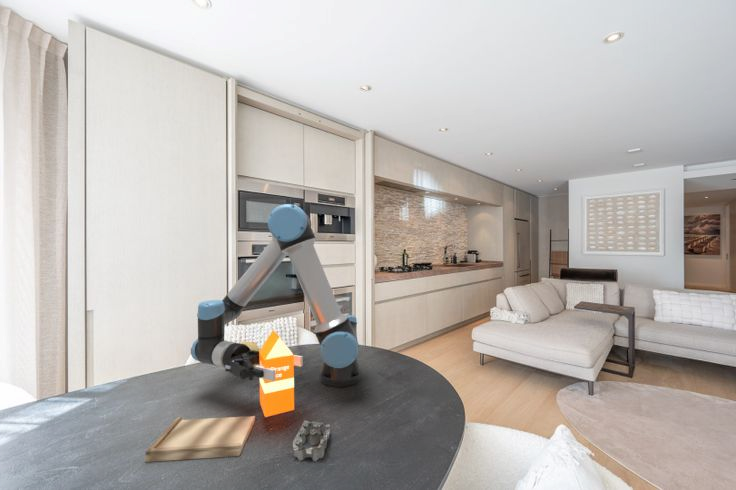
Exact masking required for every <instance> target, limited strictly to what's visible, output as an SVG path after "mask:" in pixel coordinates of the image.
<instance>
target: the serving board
mask: <svg viewBox="0 0 736 490" xmlns="http://www.w3.org/2000/svg"><path fill="white" fill-rule="evenodd" d="M255 422H256V415H250V416H249V415H248V416H246V415H245V416H233V417H231V416H229V417H215V418H214V417H213V418H212V417H211V418H210V417H209V418H196V419H195V418H194V419H193V418H192V419H183V417H182V416H178V417H176V418H175V419H174V420H173V422H172V423H171V424H170V425H169V426H168V427H167V428H166V429H165V430H164V431H163V433H161V435H159V437H158V438H157V439H156V440H155V441H154V442H153V443H152V444H151V445H150V447H148V448H147V450H146V451H145V463H149V462H150V463H151V462H153V463H154V462H167V461H181V460H182V461H183V460H193V459H194V460H196V459H209V458H213V459H214V458H224V457H228V458H229V457H238V456H239V457H240V455H241V453H242V451H243V448H244V447H245V444H246V443H247V439H248V437H249V435H250V433H251V432H252V428H253V427H254V425H255Z"/></svg>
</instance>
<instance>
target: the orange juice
mask: <svg viewBox="0 0 736 490" xmlns="http://www.w3.org/2000/svg"><path fill="white" fill-rule="evenodd" d="M294 355H295V354H293V352H292V351H291V349H290V348H289V347H288V346H287V345H286V343H284V341H283V339H281V337H280V336H279V335H278V334H277V332H276V331H275V330H274V329H273V330H272V331H271V332H270V334H269V336H268V337H267V338H266V340H265V342H264V344H263V345H262V347H261V348H260V350H259V358H260V365H259V366H262V367H264V368H271V369H275V373H276V380H275V381H270V380H266V379H262V378H259V404H260V407H261V410H262V413H263V415H264V418H267V417H271V416H276V415H278V414H283V413H286V412H290V411H294V410H295V375H294V374H295V372H294V371H295V369H294V367H295V365H294Z"/></svg>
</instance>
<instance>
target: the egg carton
mask: <svg viewBox="0 0 736 490" xmlns="http://www.w3.org/2000/svg"><path fill="white" fill-rule="evenodd" d="M330 426H331V424H330V423H327V424H325V423H324V422H319V421H308V420H305V419H304V420H303V422H302V425H301V427H300V428H299V430H298V432H297V434H296V436H295V437H294V439H293V441H292V448H293V451H294V454H293V455H294V457H295V458H297V460H298V461H301V460H302V461H304V460H305V459H306V457H307V458H310V457H311V459H312V461H313V462H318V461H319V460H320V459H322V458H324V456H325V449H327V445H328V444H327V443H328V440H329V439H330V430H331V427H330ZM308 435H309V444H310V445H312V446H313V445H315V447H309V448H304V449H303V444H305V443H306V442H307V441H306V436H308ZM321 435H322V438H321V439H320V436H321ZM316 445H318V446H316ZM304 458H305V459H304ZM319 458H320V459H319ZM318 459H319V460H318ZM317 460H318V461H317Z"/></svg>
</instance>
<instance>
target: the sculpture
mask: <svg viewBox="0 0 736 490" xmlns="http://www.w3.org/2000/svg"><path fill="white" fill-rule="evenodd" d="M239 343H240V344H245V345H247V346H248V347H249V349H250V350H255V351H259V350H261V348H260V346H259V345H257V342H256V341H240V342H239ZM259 361H260V358H259ZM257 365H258V366H260V364H254V365H253V366H254V369H255V366H257Z"/></svg>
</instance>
